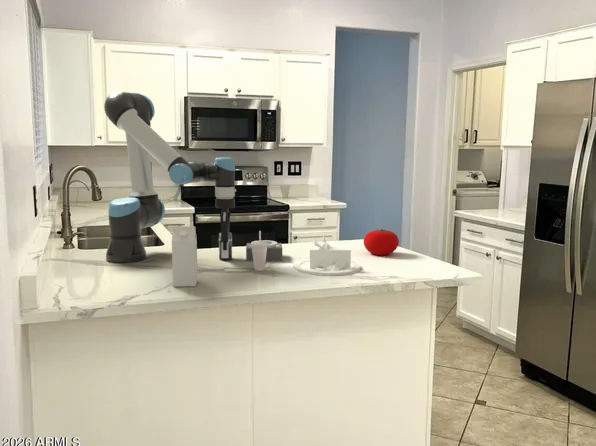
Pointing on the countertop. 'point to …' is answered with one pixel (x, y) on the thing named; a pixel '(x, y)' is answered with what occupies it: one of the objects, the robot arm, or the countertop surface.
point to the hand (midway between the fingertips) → (225, 256)
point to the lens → (229, 246)
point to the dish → (327, 261)
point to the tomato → (381, 242)
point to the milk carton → (184, 256)
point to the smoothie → (259, 254)
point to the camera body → (272, 251)
